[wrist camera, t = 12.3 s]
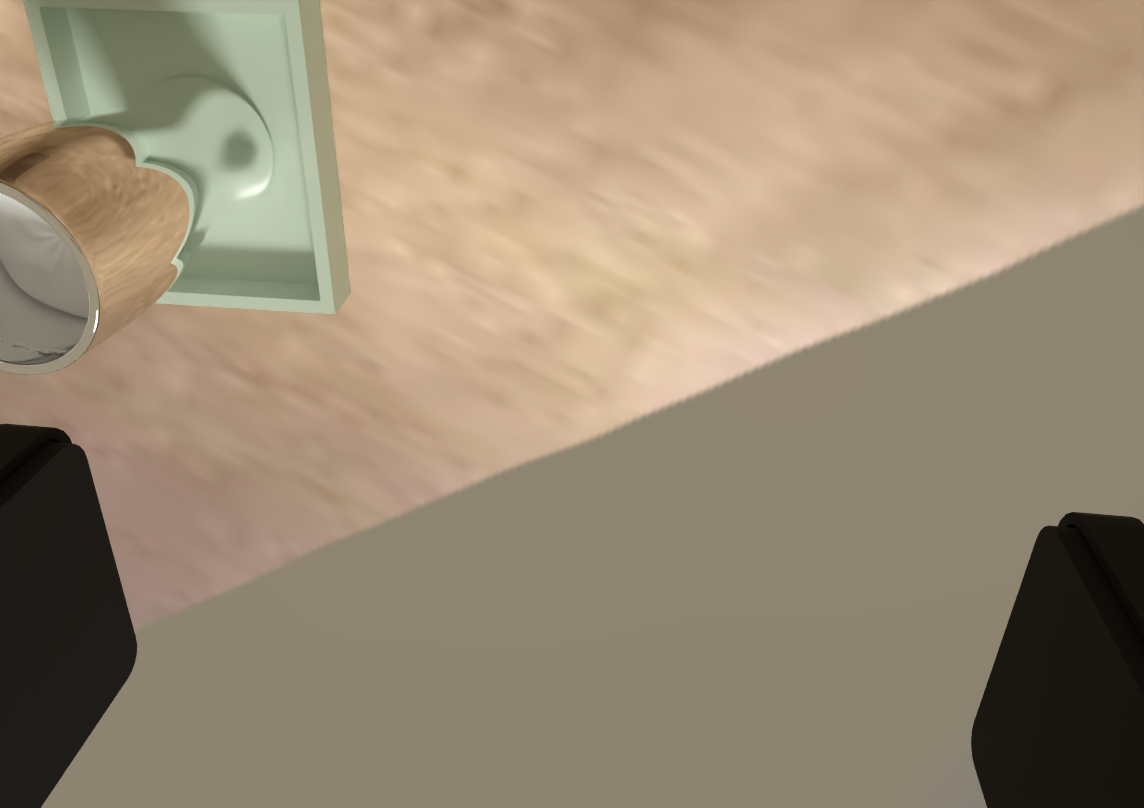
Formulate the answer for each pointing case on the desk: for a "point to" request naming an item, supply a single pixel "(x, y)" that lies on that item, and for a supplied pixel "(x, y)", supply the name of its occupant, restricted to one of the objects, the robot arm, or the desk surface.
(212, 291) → the tray
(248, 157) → the beer glass
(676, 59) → the desk surface
